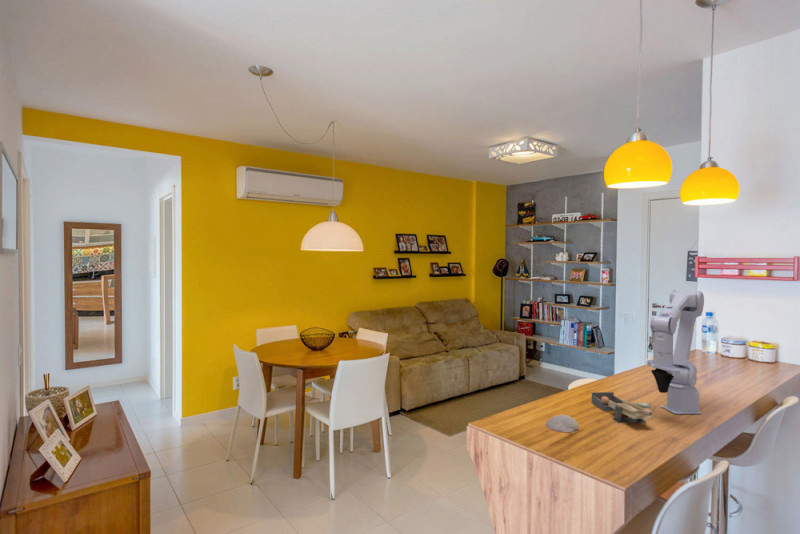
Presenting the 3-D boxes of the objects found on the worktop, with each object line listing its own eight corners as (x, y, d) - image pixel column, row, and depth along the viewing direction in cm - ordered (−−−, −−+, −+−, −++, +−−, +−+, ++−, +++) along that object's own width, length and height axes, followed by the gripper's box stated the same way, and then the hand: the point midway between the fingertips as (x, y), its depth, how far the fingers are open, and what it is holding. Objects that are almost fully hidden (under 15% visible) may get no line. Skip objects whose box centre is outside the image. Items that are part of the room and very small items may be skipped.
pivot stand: (639, 418, 148) (639, 404, 148) (646, 422, 144) (646, 408, 144) (612, 418, 148) (612, 404, 148) (618, 423, 144) (618, 408, 144)
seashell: (575, 426, 134) (543, 413, 140) (571, 442, 135) (540, 428, 141) (584, 416, 142) (554, 404, 148) (580, 431, 143) (551, 418, 149)
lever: (645, 405, 154) (644, 398, 154) (674, 418, 138) (673, 410, 138) (608, 406, 154) (608, 399, 154) (633, 418, 138) (633, 410, 138)
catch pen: (612, 402, 165) (612, 392, 165) (625, 410, 156) (625, 399, 156) (591, 402, 165) (591, 392, 165) (603, 411, 156) (603, 400, 156)
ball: (611, 400, 161) (609, 406, 162) (607, 394, 163) (606, 400, 165) (603, 400, 161) (602, 406, 162) (600, 394, 163) (598, 400, 165)
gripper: (639, 347, 152) (639, 386, 152) (664, 356, 138) (664, 399, 138) (658, 347, 152) (658, 385, 153) (686, 356, 138) (686, 398, 138)
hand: (663, 392), depth 145 cm, fingers closed
